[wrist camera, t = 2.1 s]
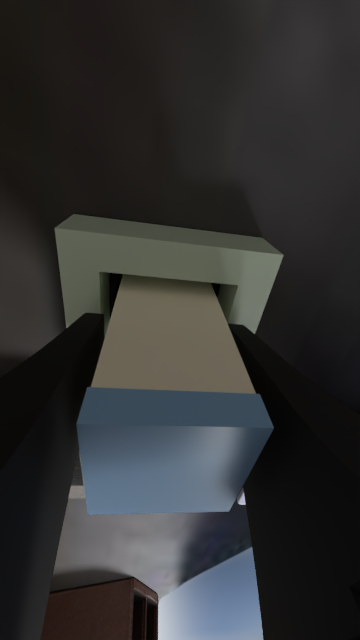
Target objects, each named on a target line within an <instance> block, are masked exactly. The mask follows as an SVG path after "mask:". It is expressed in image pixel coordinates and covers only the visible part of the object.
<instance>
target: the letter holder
mask: <svg viewBox="0 0 360 640" xmlns="http://www.w3.org/2000/svg"><path fill="white" fill-rule="evenodd" d="M40 640H158V595H157V593H156V592H154V591H153V590H151V589H150V588H149V587H147V586H146V585H144V584H143V583H142V582H140V581H139V580H137V579H136V578H135V577H132V578H126V579H121V580H116V581H110V582H104V583H99V584H93V585H88V586H82V587H77V588H71V589H66V590H61V591H55V592H50V593H49V596H48V602H47V607H46V612H45V618H44V623H43V628H42V634H41V639H40Z"/></svg>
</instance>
